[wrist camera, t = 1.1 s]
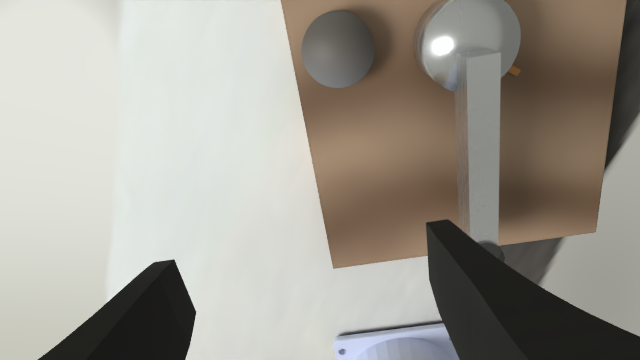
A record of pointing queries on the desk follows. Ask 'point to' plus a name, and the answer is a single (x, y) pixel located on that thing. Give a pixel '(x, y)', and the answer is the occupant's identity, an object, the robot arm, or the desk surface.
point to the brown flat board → (450, 122)
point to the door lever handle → (472, 97)
